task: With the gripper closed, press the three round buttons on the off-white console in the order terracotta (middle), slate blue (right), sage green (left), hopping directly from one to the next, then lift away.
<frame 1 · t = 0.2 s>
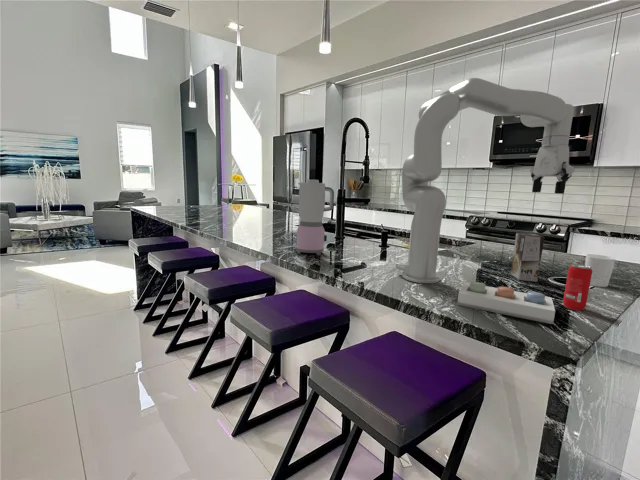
hand: (547, 192, 121), 31 cm above the counter, tool pointing down, fingers open, 9 cm apart
white cup: (595, 284, 121), on the counter
beverage can: (573, 308, 96), on the counter
button slate: (535, 298, 90), point 4 cm above the counter, slide at 0.0 cm
button sage: (477, 288, 97), point 4 cm above the counter, slide at 0.0 cm
console: (503, 307, 94), on the counter
blender: (313, 253, 153), on the counter
coffee box: (523, 278, 126), on the counter
button terracotta: (505, 293, 93), point 4 cm above the counter, slide at 0.0 cm
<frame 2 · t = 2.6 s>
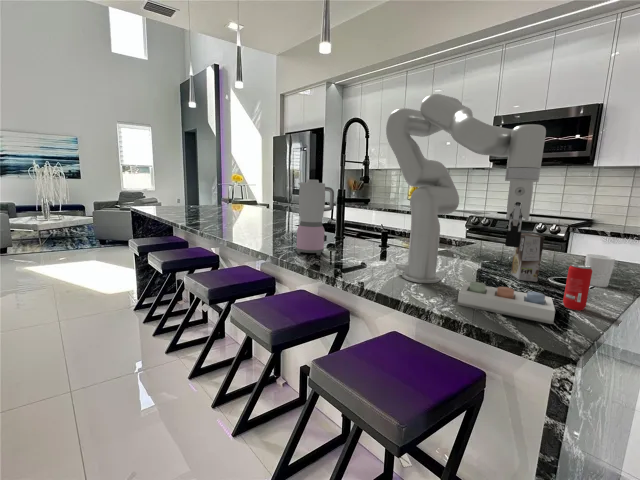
hand: (512, 244, 91), 18 cm above the counter, tool pointing down, fingers open, 5 cm apart
nothing on the counter moved.
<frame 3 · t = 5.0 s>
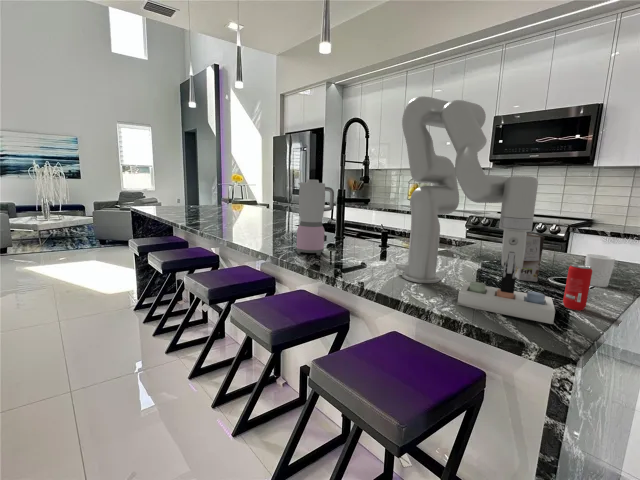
hand: (507, 291, 93), 5 cm above the counter, tool pointing down, fingers closed
button terracotta: (504, 295, 93), point 3 cm above the counter, slide at 0.7 cm, touching gripper
everything else where it was.
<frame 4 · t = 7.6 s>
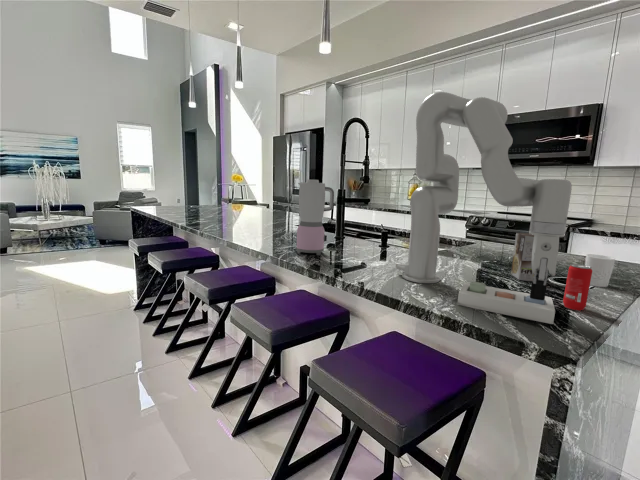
hand: (536, 298, 90), 4 cm above the counter, tool pointing down, fingers closed
button slate: (534, 302, 90), point 3 cm above the counter, slide at 1.1 cm, touching gripper
button terracotta: (504, 298, 94), point 2 cm above the counter, slide at 1.5 cm
everything else where it was.
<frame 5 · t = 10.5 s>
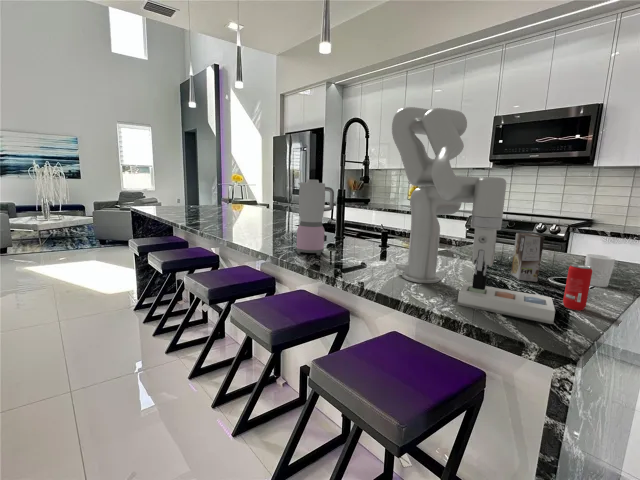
hand: (478, 288, 96), 4 cm above the counter, tool pointing down, fingers closed
button slate: (534, 304, 90), point 2 cm above the counter, slide at 1.5 cm
button sage: (476, 292, 97), point 3 cm above the counter, slide at 1.1 cm, touching gripper
everything else where it was.
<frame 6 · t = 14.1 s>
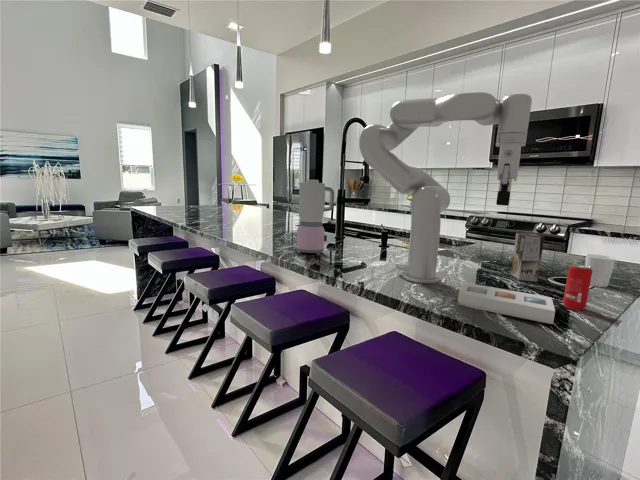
hand: (502, 205, 102), 27 cm above the counter, tool pointing down, fingers closed
button sage: (476, 293, 97), point 2 cm above the counter, slide at 1.5 cm
everything else where it was.
at the end: button terracotta slide at 1.5 cm; button slate slide at 1.5 cm; button sage slide at 1.5 cm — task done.
